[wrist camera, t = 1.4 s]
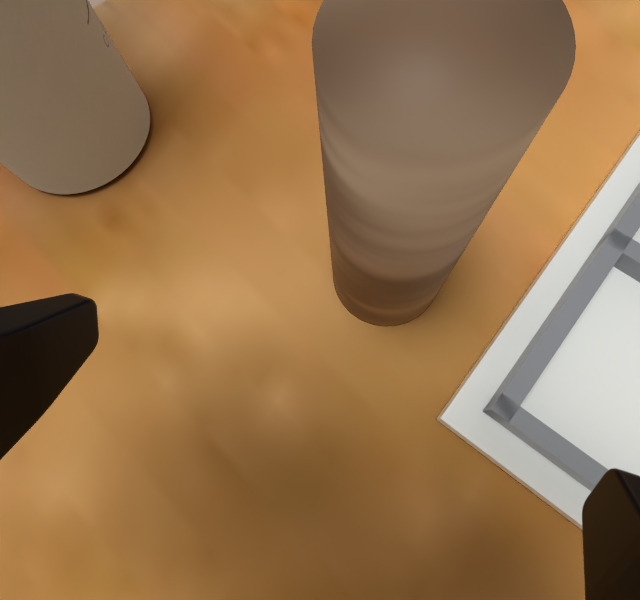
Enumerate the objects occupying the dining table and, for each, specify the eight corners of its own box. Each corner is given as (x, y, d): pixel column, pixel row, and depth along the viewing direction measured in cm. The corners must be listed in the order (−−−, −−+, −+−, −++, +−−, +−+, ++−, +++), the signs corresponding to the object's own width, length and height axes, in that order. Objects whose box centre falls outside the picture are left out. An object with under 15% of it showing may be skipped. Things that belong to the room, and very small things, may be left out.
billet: (457, 301, 22) (628, 91, 9) (357, 342, 22) (374, 190, 8) (411, 212, 23) (497, -91, 10) (317, 249, 23) (276, -11, 10)
